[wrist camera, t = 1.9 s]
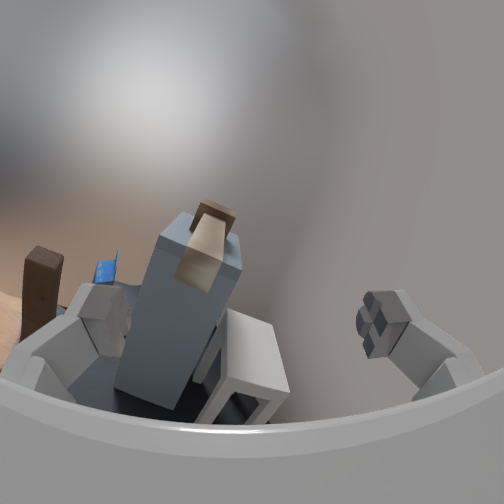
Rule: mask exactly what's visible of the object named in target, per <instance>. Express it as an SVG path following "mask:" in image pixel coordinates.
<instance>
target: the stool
mask: <svg viewBox="0 0 504 504" xmlns="http://www.w3.org/2000/svg"><path fill="white" fill-rule="evenodd" d="M220 348H221V379H220V380H219V382H218V384H217V385H216V387H215V389H214V390H213V392H212V394H211V396H210V397H209V399H208V401H207V402H206V404H205V406H204V407H203V409H202V410H201V412H200V414H199V415H198V417H197V419H196V420H195V422H194V424H212V423H213V421H214V420H215V418H216V417H217V415H218V414H219V412H220V411H221V409H222V408H223V406H224V405H225V403H226V402H227V400H228V399H229V397H230V396H231V394H234V392H239V393H242V394H246V395H250V396H254V397H258V398H262V399H263V400H262V402H261V403H260V404H259V406H258V407H257V408H256V410H255V411H254V412H253V413H252V415H251V416H250V417H249V419H248V420H247V421H246V422H245V424H244V425H264V424H265V423H266V422H267V421H268V420H269V418H270V417H271V416H272V415H273V414H274V412H275V411H276V410H277V409H278V408H279V406H280V405H281V404H282V403H283V401H284V400H285V399H286V398H287V396H288V395H289V394H290V391H289V387H288V383H287V379H286V375H285V372H284V368H283V364H282V360H281V356H280V353H279V349H278V345H277V341H276V338H275V334H274V330H273V326H272V325H271V324H268V323H266V322H263V321H260V320H257V319H255V318H252V317H249V316H247V315H244V314H241V313H239V312H236V311H233V310H231V309H228V308H227V310H226V312H225V314H224V316H223V318H222V320H221V322H220V324H219V326H218V328H217V330H216V332H215V334H214V336H213V338H212V340H211V342H210V344H209V346H208V348H207V350H206V352H205V354H204V356H203V358H202V360H201V362H200V363H199V365H198V367H197V369H196V371H195V373H194V375H193V382H196V383H199V384H201V383H202V381H203V379H204V377H205V376H206V374H207V372H208V370H209V368H210V366H211V364H212V363H213V361H214V359H215V357H216V355H217V353H218V351H219V349H220Z"/></svg>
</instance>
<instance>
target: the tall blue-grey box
mask: <svg viewBox="0 0 504 504" xmlns="http://www.w3.org/2000/svg"><path fill="white" fill-rule="evenodd" d="M193 219H194V216H192V215H189V214H187V213H185V212H182V213H181V214H180V215H179V216H178V217H177V218H176V219H175V220H174V221H173V222H172V223H171V224H170V225H169V226H168V227H167V228H166V229H165V230H164V231H163V232H162V233H161V234H160V235H159V237H158V240H157V243H156V246H155V248H154V251H153V254H152V257H151V259H150V262H149V265H148V268H147V271H146V274H145V277H144V280H143V283H142V286H141V289H140V292H139V295H138V298H137V301H136V305H135V308H134V311H133V314H132V319H131V327H130V330H129V333H127V335H126V339H125V342H126V343H125V346H124V349H123V352H122V356H121V358H120V362H119V366H118V370H117V374H116V379H115V383H114V388H117V389H119V390H121V391H124V392H126V393H128V394H131V395H133V396H136V397H138V398H141V399H143V400H146V401H148V402H151V403H154V404H156V405H159V406H162V407H165V408H168V409H171V410H174V408H175V406H176V404H177V402H178V400H179V398H180V396H181V394H182V392H183V390H184V388H185V386H186V384H187V382H188V380H189V378H190V376H191V374H192V371H193V369H194V367H195V365H196V363H197V361H198V359H199V357H200V355H201V353H202V351H203V349H204V347H205V345H206V343H207V341H208V339H209V337H210V335H211V333H212V331H213V329H214V327H215V325H216V323H217V320H218V319H219V317H220V315H221V313H222V311H223V309H224V307H225V305H226V303H227V301H228V299H229V297H230V294H231V293H232V290H233V289H234V287H235V284H236V282H237V280H238V279H239V276H240V274H241V272H242V264H241V255H240V246H239V239H238V236H237V235H234V234H232V233H230V232H229V233H228V235H227V238H226V240H225V242H224V250H223V262H222V264H221V266H220V268H219V270H218V272H217V275H216V277H215V279H214V281H213V283H212V285H211V288H210V290H209V292H208V293H205V292H203V291H200V290H198V289H196V288H193V287H191V286H188V285H186V284H184V283H181V282H179V281H177V280H174V279H173V278H174V276H175V273H176V271H177V268H178V266H179V263H180V261H181V258H182V256H183V253H184V251H185V248H186V246H187V244H188V242H189V240H190V238H191V237H192V235H193V233H194V232H193V231H191V230H189V228H190V226H191V224H192V221H193Z"/></svg>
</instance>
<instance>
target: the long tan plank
mask: <svg viewBox="0 0 504 504" xmlns="http://www.w3.org/2000/svg"><path fill="white" fill-rule="evenodd" d="M235 218H236V215H235V211H232V210H230V209H228V208H225V207H223V206H221V205H219V204H217V203H214V202H212V201H210V200H208V199H205V198H204V199H203V200H202V202H201V203H200V205H199V208H198V210H197V212H196V214H195V217H194V219H193V221H192V224H191V226H190V228H189V230H191V231H193V232H194V233H193V235H192V237H191V238H190V240H189V242H188V244H187V246H186V248H185V251H184V253H183V256H182V258H181V261H180V263H179V266H178V268H177V271H176V273H175V276H174V278H173V279H174V280H177V281H179V282H181V283H184V284H186V285H188V286H191V287H193V288H196V289H198V290H200V291H203V292H205V293H208V292H209V290H210V288H211V285H212V283H213V281H214V279H215V277H216V275H217V272H218V270H219V268H220V266H221V264H222V262H223V250H224V242H225V240H226V238H227V235H228V233H229V231H230V229H231V227H232V225H233V223H234V220H235Z"/></svg>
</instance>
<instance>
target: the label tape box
mask: <svg viewBox="0 0 504 504" xmlns="http://www.w3.org/2000/svg"><path fill="white" fill-rule="evenodd" d="M117 260H118V250H117V255H116V259H115V260H110V261H100V262H98V263H97V267H96V270H95V274H94V278H93V281H92V284H103V285H113V283H114V279H115V274H116V268H117Z"/></svg>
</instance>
